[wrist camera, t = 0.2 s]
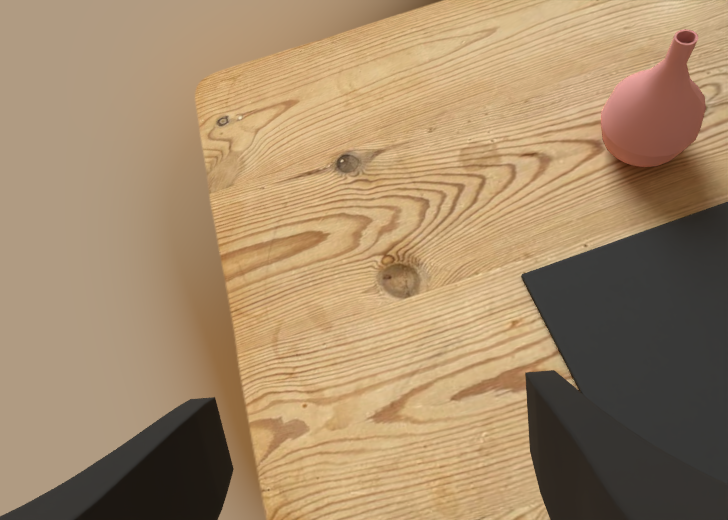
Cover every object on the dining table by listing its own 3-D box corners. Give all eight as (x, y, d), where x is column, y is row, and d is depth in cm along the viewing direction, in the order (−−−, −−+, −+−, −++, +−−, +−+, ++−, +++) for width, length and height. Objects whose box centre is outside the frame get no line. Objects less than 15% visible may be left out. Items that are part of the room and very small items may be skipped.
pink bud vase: (593, 111, 51) (626, 0, 40) (682, 114, 49) (741, -2, 38) (592, 179, 47) (628, 76, 37) (687, 184, 46) (754, 79, 35)
